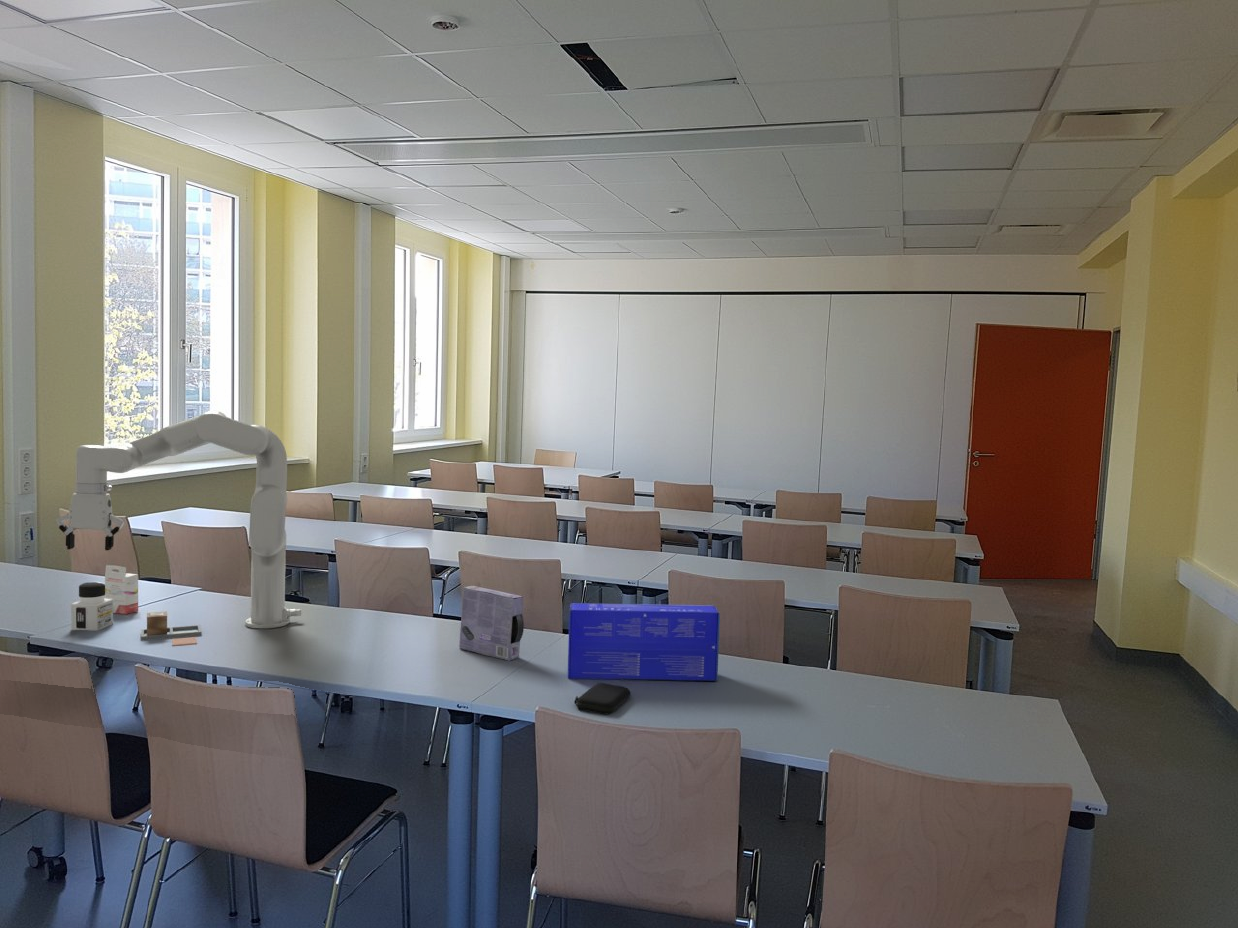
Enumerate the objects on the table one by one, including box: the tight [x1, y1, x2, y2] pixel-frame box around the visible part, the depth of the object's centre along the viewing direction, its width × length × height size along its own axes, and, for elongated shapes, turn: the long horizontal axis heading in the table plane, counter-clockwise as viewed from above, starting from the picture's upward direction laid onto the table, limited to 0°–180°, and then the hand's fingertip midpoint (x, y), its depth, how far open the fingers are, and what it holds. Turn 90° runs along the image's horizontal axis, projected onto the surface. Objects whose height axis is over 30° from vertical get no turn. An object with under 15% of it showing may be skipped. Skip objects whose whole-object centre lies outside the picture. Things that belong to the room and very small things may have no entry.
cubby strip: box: [140, 624, 202, 641], centre depth 249 cm, size 15×8×1 cm, turn 118°
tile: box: [171, 636, 198, 647], centre depth 242 cm, size 6×6×1 cm
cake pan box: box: [458, 585, 525, 662], centre depth 243 cm, size 19×5×18 cm, turn 59°
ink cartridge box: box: [104, 564, 139, 615], centre depth 271 cm, size 9×5×15 cm, turn 73°
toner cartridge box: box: [567, 602, 721, 682], centre depth 229 cm, size 39×8×18 cm, turn 93°
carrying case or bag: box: [573, 682, 632, 715], centre depth 208 cm, size 11×3×15 cm
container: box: [70, 581, 114, 631], centre depth 253 cm, size 8×8×13 cm
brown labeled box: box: [146, 611, 168, 636], centre depth 247 cm, size 5×5×6 cm
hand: (89, 549), depth 248 cm, fingers open, 9 cm apart
